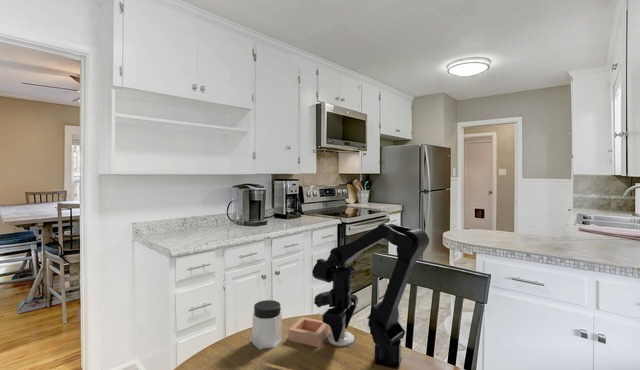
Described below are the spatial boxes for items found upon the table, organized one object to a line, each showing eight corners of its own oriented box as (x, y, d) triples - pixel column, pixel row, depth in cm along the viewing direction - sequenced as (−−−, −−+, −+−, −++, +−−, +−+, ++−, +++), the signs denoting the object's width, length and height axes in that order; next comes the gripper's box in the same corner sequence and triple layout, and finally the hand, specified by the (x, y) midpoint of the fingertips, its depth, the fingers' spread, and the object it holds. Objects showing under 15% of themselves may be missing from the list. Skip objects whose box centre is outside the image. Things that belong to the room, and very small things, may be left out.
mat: (357, 338, 103) (357, 336, 103) (351, 349, 96) (351, 347, 96) (331, 333, 106) (331, 331, 106) (323, 343, 99) (323, 341, 99)
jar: (285, 344, 98) (286, 306, 98) (262, 353, 93) (263, 313, 93) (271, 333, 105) (271, 297, 105) (248, 341, 100) (248, 303, 100)
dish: (329, 333, 106) (329, 321, 105) (318, 348, 96) (318, 335, 96) (301, 328, 109) (301, 316, 109) (288, 342, 100) (288, 329, 100)
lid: (357, 335, 103) (357, 319, 103) (349, 348, 96) (350, 331, 95) (332, 331, 106) (332, 315, 106) (323, 342, 99) (324, 326, 98)
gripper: (327, 274, 112) (327, 318, 112) (306, 291, 95) (305, 343, 95) (358, 278, 108) (357, 324, 108) (342, 297, 91) (341, 351, 91)
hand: (341, 334), depth 101 cm, fingers open, 9 cm apart
